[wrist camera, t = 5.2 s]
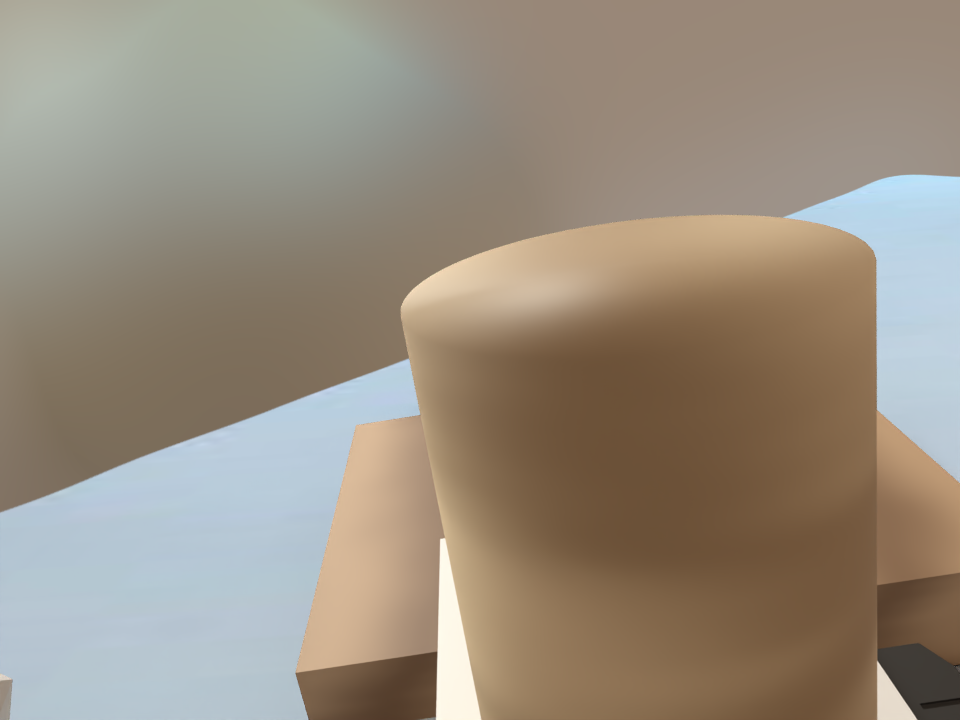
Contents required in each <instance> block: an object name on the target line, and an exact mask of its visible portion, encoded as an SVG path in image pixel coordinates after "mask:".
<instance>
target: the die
mask: <svg viewBox="0 0 960 720" xmlns="http://www.w3.org/2000/svg"><path fill="white" fill-rule="evenodd" d="M11 692H12V679H11V678H9V677H6V676H4V675H2V674H0V720H9V718H10V705H11Z"/></svg>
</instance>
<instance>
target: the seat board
mask: <svg viewBox="0 0 960 720" xmlns="http://www.w3.org/2000/svg"><path fill="white" fill-rule="evenodd" d="M443 538H445V535H444V530H443V525H442V520H441V515H440V510H439V505H438V500H437V495H436V490H435V485H434V480H433V475H432V470H431V465H430V460H429V455H428V450H427V445H426V440H425V435H424V430H423V425H422V420H421V415H418V416H412V417H405V418H399V419H393V420H386V421H380V422H374V423H367V424H361V425H356V428H355V432H354V436H353V440H352V444H351V448H350V452H349V456H348V461H347V465H346V469H345V473H344V477H343V481H342V485H341V489H340V493H339V497H338V501H337V505H336V510H335V514H334V518H333V522H332V526H331V530H330V534H329V538H328V542H327V546H326V550H325V554H324V558H323V563H322V567H321V571H320V575H319V579H318V583H317V587H316V591H315V595H314V599H313V603H312V607H311V611H310V616H309V620H308V624H307V628H306V632H305V636H304V640H303V644H302V648H301V652H300V656H299V660H298V664H297V669H296V677H297V680H298V684H299V687H300V691H301V694H302V698H303V701H304V705H305V708H306V712H307V715H308V719H309V720H420V719H427V718H433V717H436V700H437V657H438V614H439V571H440V539H443ZM914 643H920V644H921V645H923V646H924V647H926V648H927V649H929V650H930V651H932V652H933V653H935V654H937V655H938V656H940V657H941V658H943V659H944V660H946V661H947V662H949V663H950V664H952V665H959V664H960V483H959V482H958V481H957V480H955V479H954V478H953V477H952V476H951V475H950V474H949V473H948V472H946V471H945V470H944V469H943V468H942V467H941V466H940V465H939V464H937V463H936V462H935V461H934V460H933V459H932V458H931V457H929V456H928V455H927V454H926V453H925V452H924V451H923V450H922V449H920V448H919V447H918V446H917V445H916V444H915V443H914V442H912V441H911V440H910V439H909V438H908V437H907V436H906V435H905V434H903V433H902V432H901V431H900V430H899V429H898V428H897V427H896V426H894V425H893V424H892V423H891V422H890V421H889V420H888V419H886V418H885V417H884V416H883V415H882V414H881V413H880V412H879V411H877V649H881V648H887V647H894V646H901V645H907V644H914Z"/></svg>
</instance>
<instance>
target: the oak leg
mask: <svg viewBox="0 0 960 720" xmlns="http://www.w3.org/2000/svg"><path fill="white" fill-rule="evenodd" d="M401 319H402V324H403V329H404V334H405V339H406V345H407V349H408V354H409V360H410V365H411V370H412V375H413V380H414V385H415V390H416V395H417V400H418V405H419V410H420V415H421V420H422V425H423V430H424V435H425V440H426V445H427V450H428V455H429V460H430V465H431V470H432V475H433V480H434V485H435V490H436V495H437V500H438V505H439V510H440V515H441V520H442V525H443V530H444V535H445V540H446V545H447V550H448V555H449V560H450V565H451V570H452V575H453V580H454V585H455V590H456V595H457V600H458V605H459V610H460V615H461V620H462V625H463V630H464V635H465V640H466V645H467V650H468V656H469V661H470V666H471V671H472V676H473V681H474V686H475V691H476V696H477V701H478V706H479V711H480V716H481V720H877V356H876V257H875V254H874V252H873V250H872V249H871V248H870V247H869V246H868V245H867V243H866V242H864V241H862V240H861V239H859V238H858V237H856V236H854V235H852V234H850V233H847V232H845V231H842V230H840V229H837V228H833V227H830V226H826V225H823V224H818V223H813V222H808V221H802V220H795V219H787V218H778V217H767V216H749V215H748V216H747V215H694V216H675V217H661V218H649V219H639V220H630V221H623V222H614V223H608V224H601V225H594V226H588V227H582V228H577V229H571V230H566V231H561V232H557V233H552V234H547V235H543V236H538V237H535V238H531V239H527V240H523V241H519V242H515V243H512V244H508V245H505V246H501V247H498V248H495V249H492V250H489V251H486V252H483V253H480V254H478V255H475V256H473V257H470V258H467V259H464V260H462V261H460V262H458V263H455V264H453V265H451V266H449V267H447V268H445V269H443V270H441V271H439V272H437V273H435V274H434V275H432V276H431V277H429V278H427V279H426V280H424V281H423V282H421V283H420V284H419V285H418V286H417V287H416V288H414V289H413V290H412V291H411V292H410V293H409V295H408V296H407V297H406V298H405V299H404V302H403V304H402V307H401Z"/></svg>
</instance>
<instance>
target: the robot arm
mask: <svg viewBox="0 0 960 720" xmlns="http://www.w3.org/2000/svg"><path fill="white" fill-rule="evenodd" d="M420 720H481V716H480V711H479V706H478V701H477V696H476V691H475V686H474V681H473V676H472V671H471V666H470V661H469V656H468V650H467V645H466V640H465V635H464V630H463V625H462V620H461V615H460V610H459V605H458V600H457V595H456V590H455V585H454V580H453V575H452V570H451V565H450V560H449V555H448V550H447V545H446V540H445V538H443V539H440V571H439V614H438V657H437V700H436V717H433V718H427V719H420ZM877 720H960V673H959V672H958V670H957V669H956V668H955V667H954V666H953V665H952V664H950V663H949V662H947V661H946V660H944V659H943V658H941V657H940V656H938V655H937V654H935V653H933V652H932V651H930V650H929V649H927V648H926V647H924V646H923V645H921V644H920V643H914V644H907V645H901V646H894V647H887V648H881V649H877Z"/></svg>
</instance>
